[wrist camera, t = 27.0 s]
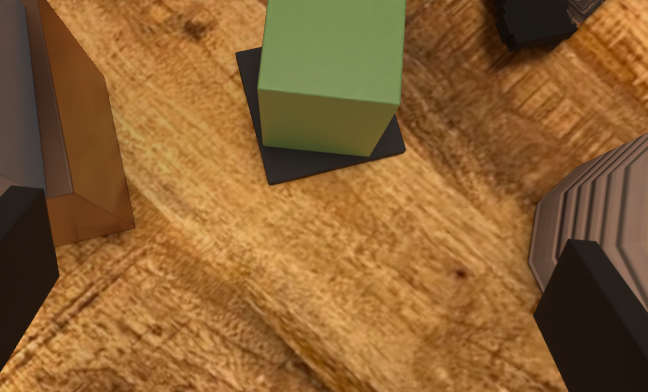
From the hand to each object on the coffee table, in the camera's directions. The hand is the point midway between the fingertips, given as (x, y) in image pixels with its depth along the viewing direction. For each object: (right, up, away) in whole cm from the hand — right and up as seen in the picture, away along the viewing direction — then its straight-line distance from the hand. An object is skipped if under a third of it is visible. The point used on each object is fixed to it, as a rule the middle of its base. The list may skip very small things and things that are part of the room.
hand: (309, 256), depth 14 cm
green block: (0, +7, +17) cm, 18 cm away
